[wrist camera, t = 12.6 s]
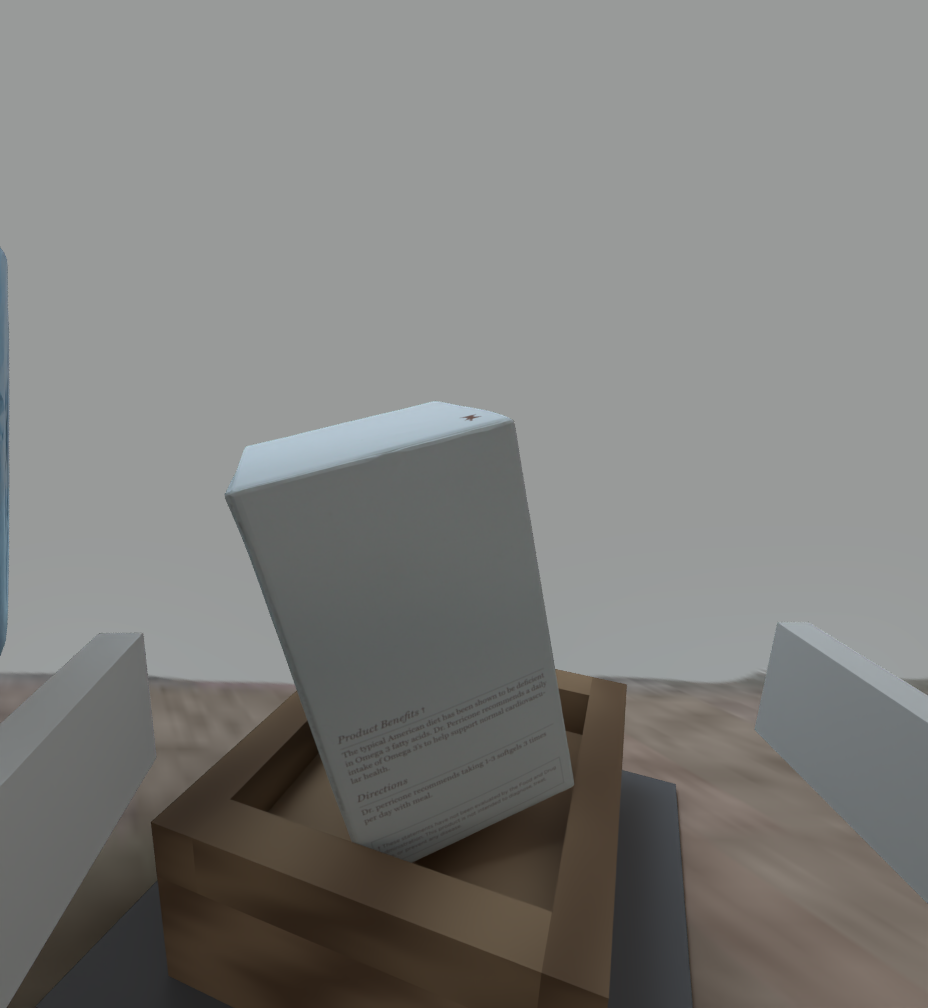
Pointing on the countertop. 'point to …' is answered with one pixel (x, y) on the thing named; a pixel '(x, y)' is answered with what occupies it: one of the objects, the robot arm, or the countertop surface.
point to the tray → (391, 883)
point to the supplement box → (410, 618)
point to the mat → (635, 940)
